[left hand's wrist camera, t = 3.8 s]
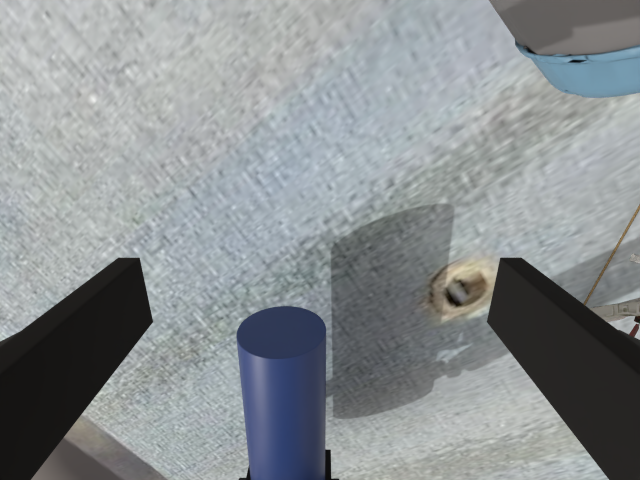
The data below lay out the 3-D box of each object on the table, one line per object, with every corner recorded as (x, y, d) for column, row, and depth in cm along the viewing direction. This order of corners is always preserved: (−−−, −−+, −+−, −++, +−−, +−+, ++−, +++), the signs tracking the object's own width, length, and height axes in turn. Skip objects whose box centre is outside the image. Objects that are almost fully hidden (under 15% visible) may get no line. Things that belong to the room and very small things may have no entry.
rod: (247, 305, 38) (225, 358, 30) (325, 306, 38) (326, 359, 30) (261, 476, 48) (248, 552, 39) (324, 476, 48) (324, 553, 39)
